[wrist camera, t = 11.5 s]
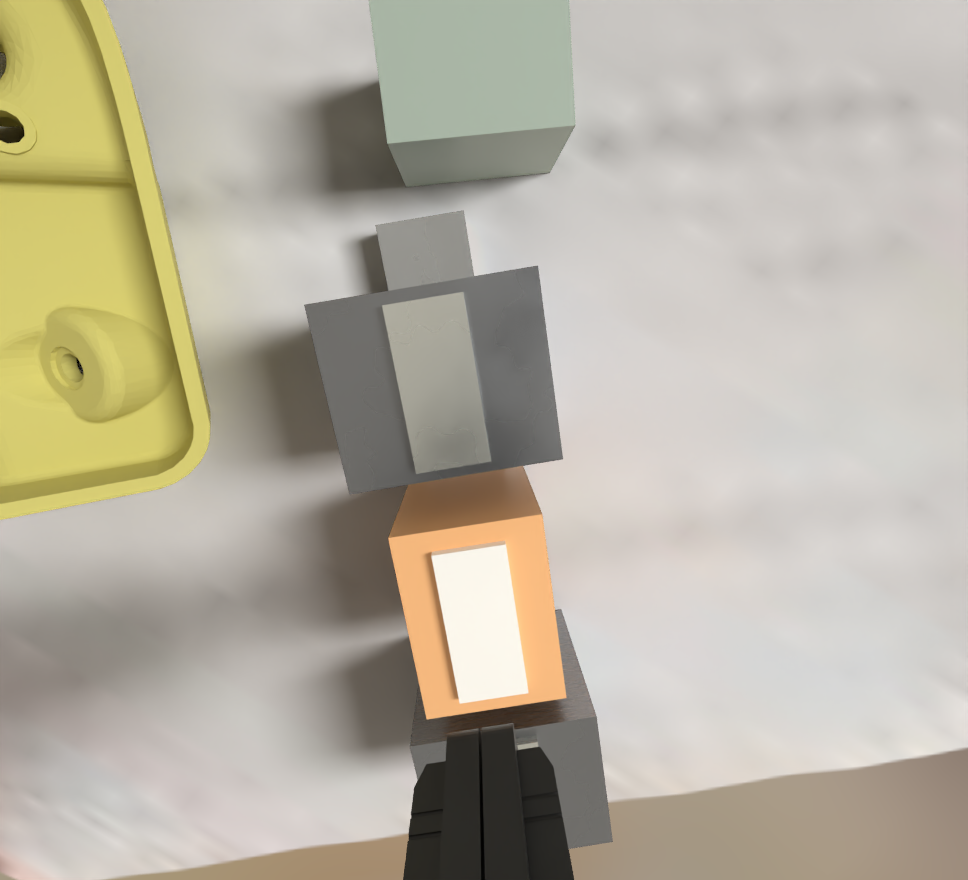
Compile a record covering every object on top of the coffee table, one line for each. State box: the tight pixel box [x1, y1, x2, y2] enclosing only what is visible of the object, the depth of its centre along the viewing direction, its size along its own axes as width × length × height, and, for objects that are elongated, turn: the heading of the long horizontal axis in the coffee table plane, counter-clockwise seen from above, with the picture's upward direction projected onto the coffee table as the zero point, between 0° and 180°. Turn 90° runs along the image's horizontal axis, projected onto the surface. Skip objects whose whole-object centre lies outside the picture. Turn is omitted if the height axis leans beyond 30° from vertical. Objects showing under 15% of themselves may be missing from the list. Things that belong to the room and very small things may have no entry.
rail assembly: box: [304, 210, 613, 849], centre depth 20 cm, size 26×7×7 cm, turn 9°
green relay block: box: [369, 0, 575, 187], centre depth 17 cm, size 4×6×5 cm, turn 96°
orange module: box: [388, 466, 566, 719], centre depth 19 cm, size 7×5×6 cm
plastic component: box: [0, 0, 210, 520], centre depth 18 cm, size 20×7×10 cm
